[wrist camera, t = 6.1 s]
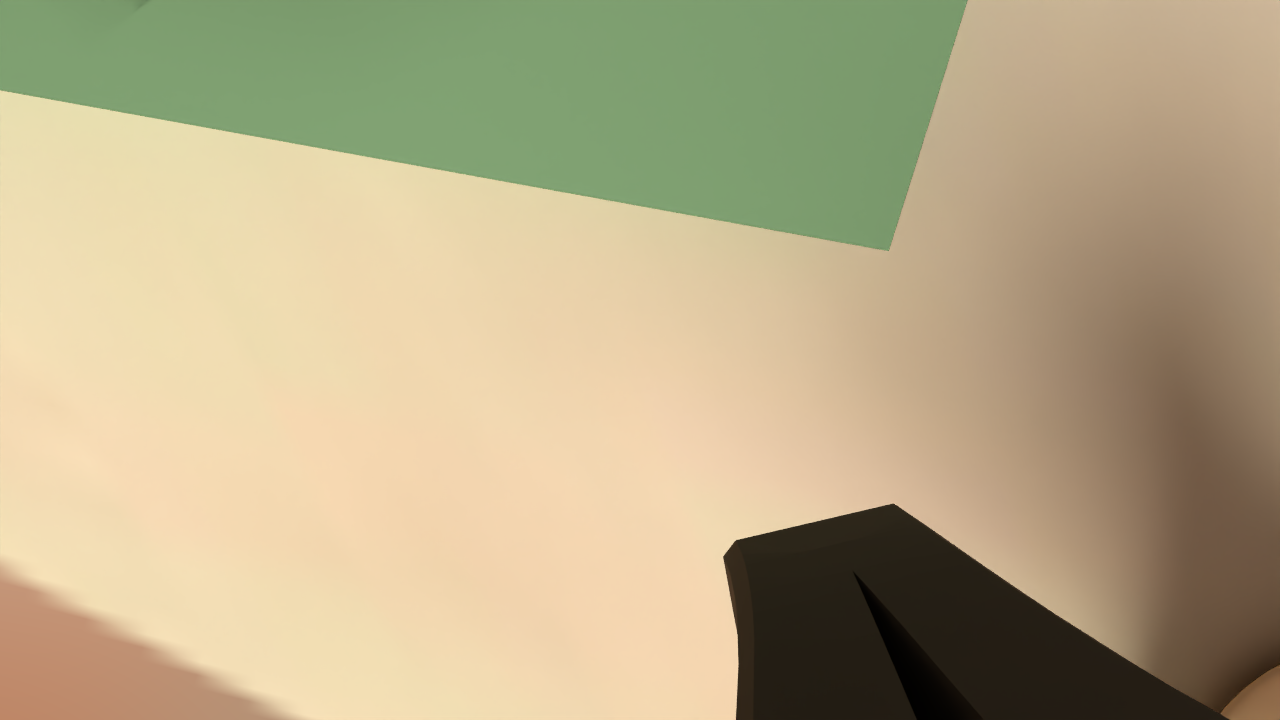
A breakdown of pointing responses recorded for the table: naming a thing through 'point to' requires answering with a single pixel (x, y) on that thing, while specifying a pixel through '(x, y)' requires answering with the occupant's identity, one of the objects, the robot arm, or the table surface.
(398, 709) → the table surface
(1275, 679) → the plastic bottle
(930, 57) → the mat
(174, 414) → the table surface
